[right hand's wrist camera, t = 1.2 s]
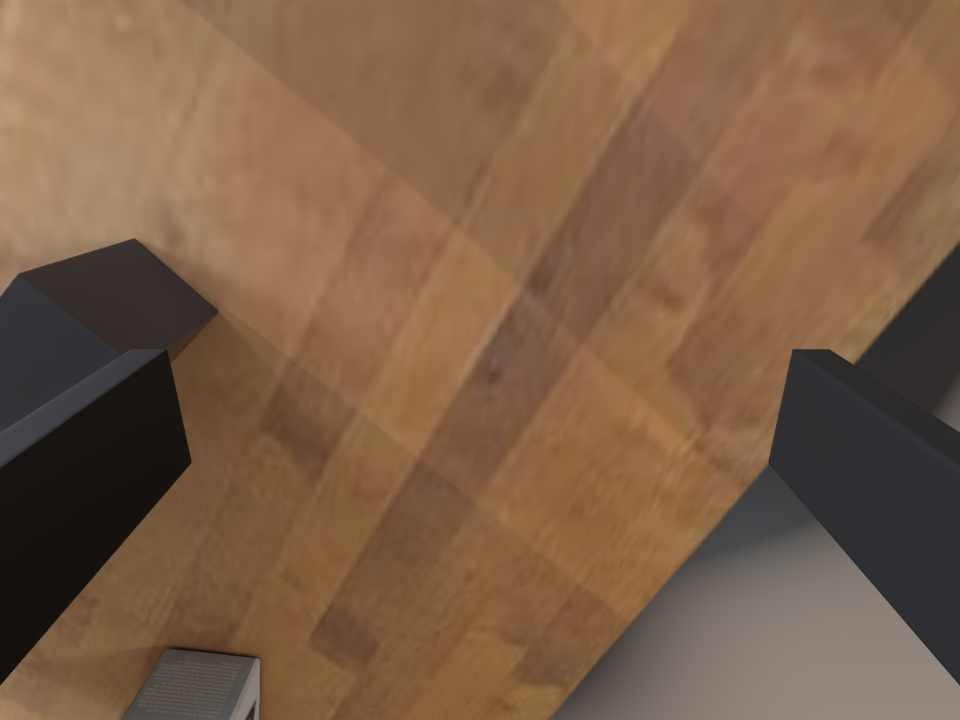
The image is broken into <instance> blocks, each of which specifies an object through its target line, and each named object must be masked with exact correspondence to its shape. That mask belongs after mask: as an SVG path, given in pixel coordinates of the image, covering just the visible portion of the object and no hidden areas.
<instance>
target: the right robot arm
mask: <svg viewBox="0 0 960 720" xmlns="http://www.w3.org/2000/svg"><path fill="white" fill-rule="evenodd" d="M191 463H192V462H191V457H190V453H189V448H188V443H187V439H186V434H185V429H184V425H183V420H182V415H181V411H180V406H179V402H178V397H177V392H176V388H175V383H174V378H173V374H172V369H171V364H170V360H169V355H168V350H167V349H131V350H129V351H127V352H126V353H124V354H123V355H121V356H120V357H118V358H117V359H115V360H113V361H112V362H110V363H109V364H107V365H106V366H104V367H102V368H101V369H99V370H98V371H96V372H95V373H93V374H91V375H90V376H88V377H87V378H85V379H84V380H82V381H80V382H79V383H77V384H76V385H74V386H73V387H71V388H69V389H68V390H66V391H65V392H63V393H62V394H60V395H58V396H57V397H55V398H54V399H52V400H51V401H49V402H47V403H46V404H44V405H43V406H41V407H40V408H38V409H36V410H35V411H33V412H32V413H30V414H29V415H27V416H25V417H24V418H22V419H21V420H19V421H18V422H16V423H14V424H13V425H11V426H10V427H8V428H7V429H5V430H3V431H2V432H0V685H1V684H2V683H3V682H4V680H5V679H6V678H7V677H8V676H9V675H10V673H11V672H12V671H13V670H14V669H15V668H16V667H17V665H18V664H19V663H20V662H21V661H22V660H23V658H24V657H25V656H26V655H27V654H28V653H29V651H30V650H31V649H32V648H33V647H34V646H35V644H36V643H37V642H38V641H39V640H40V639H41V637H42V636H43V635H44V634H45V633H46V632H47V630H48V629H49V628H50V627H51V626H52V625H53V623H54V622H55V621H56V620H57V619H58V618H59V616H60V615H61V614H62V613H63V612H64V611H65V609H66V608H67V607H68V606H69V605H70V604H71V602H72V601H73V600H74V599H75V598H76V597H77V596H78V594H79V593H80V592H81V591H82V590H83V589H84V587H85V586H86V585H87V584H88V583H89V582H90V580H91V579H92V578H93V577H94V576H95V575H96V573H97V572H98V571H99V570H100V569H101V568H102V566H103V565H104V564H105V563H106V562H107V561H108V559H109V558H110V557H111V556H112V555H113V554H114V552H115V551H116V550H117V549H118V548H119V547H120V545H121V544H122V543H123V542H124V541H125V540H126V538H127V537H128V536H129V535H130V534H131V533H132V531H133V530H134V529H135V528H136V527H137V526H138V525H139V523H140V522H141V521H142V520H143V519H144V518H145V516H146V515H147V514H148V513H149V512H150V511H151V509H152V508H153V507H154V506H155V505H156V504H157V502H158V501H159V500H160V499H161V498H162V497H163V495H164V494H165V493H166V492H167V491H168V490H169V488H170V487H171V486H172V485H173V484H174V483H175V481H176V480H177V479H178V478H179V477H180V476H181V474H182V473H183V472H184V471H185V470H186V469H187V467H188V466H189V465H190V464H191ZM768 463H769V464H770V465H771V466H772V467H773V469H774V470H775V471H776V472H777V473H778V474H779V476H780V477H781V478H782V479H783V480H784V481H785V483H786V484H787V485H788V486H789V487H790V488H791V490H792V491H793V492H794V493H795V494H796V495H797V497H798V498H799V499H800V500H801V501H802V502H803V504H804V505H805V506H806V507H807V508H808V509H809V511H810V512H811V513H812V514H813V515H814V516H815V518H816V519H817V520H818V521H819V522H820V523H821V524H822V526H823V527H824V528H825V529H826V530H827V531H828V533H829V534H830V535H831V536H832V537H833V538H834V540H835V541H836V542H837V543H838V544H839V545H840V547H841V548H842V549H843V550H844V551H845V552H846V553H847V555H848V556H849V557H850V558H851V559H852V561H853V562H854V563H855V564H856V565H857V566H858V568H859V569H860V570H861V571H862V572H863V573H864V575H865V576H866V577H867V578H868V579H869V580H870V582H871V583H872V584H873V585H874V586H875V587H876V588H877V590H878V591H879V592H880V593H881V594H882V596H883V597H884V598H885V599H886V600H887V601H888V602H889V604H890V605H891V606H892V607H893V608H894V609H895V611H896V612H897V613H898V614H899V615H900V616H901V618H902V619H903V620H904V621H905V622H906V623H907V625H908V626H909V627H910V628H911V629H912V630H913V632H914V633H915V634H916V635H917V636H918V637H919V639H920V640H921V641H922V642H923V643H924V644H925V646H926V647H927V648H928V649H929V650H930V651H931V653H932V654H933V655H934V656H935V657H936V658H937V660H938V661H939V662H940V663H941V664H942V665H943V667H944V668H945V669H946V670H947V671H948V672H949V673H950V675H951V676H952V677H953V678H954V679H955V680H956V682H957V683H958V684H959V685H960V432H958V431H957V430H955V429H953V428H952V427H950V426H949V425H947V424H946V423H944V422H942V421H941V420H939V419H938V418H936V417H935V416H933V415H931V414H930V413H928V412H927V411H925V410H924V409H922V408H920V407H919V406H917V405H916V404H914V403H913V402H911V401H909V400H908V399H906V398H905V397H903V396H902V395H900V394H898V393H897V392H895V391H894V390H892V389H891V388H889V387H887V386H886V385H884V384H883V383H881V382H880V381H878V380H876V379H875V378H873V377H872V376H870V375H869V374H867V373H865V372H864V371H862V370H861V369H859V368H858V367H856V366H854V365H853V364H851V363H850V362H848V361H847V360H845V359H843V358H842V357H840V356H839V355H837V354H836V353H834V352H833V351H831V350H829V349H793V350H792V355H791V360H790V364H789V369H788V374H787V378H786V383H785V388H784V392H783V397H782V402H781V406H780V411H779V415H778V420H777V425H776V429H775V434H774V439H773V443H772V448H771V453H770V457H769V462H768Z"/></svg>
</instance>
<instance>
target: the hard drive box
mask: <svg viewBox="0 0 960 720" xmlns="http://www.w3.org/2000/svg"><path fill="white" fill-rule="evenodd" d="M259 703H260V659H259V658H251V657H241V656H232V655H224V654H215V653H206V652H196V651H187V650H177V649H165V650H164V651H163V653H162V655H161V656H160V658H159V659H158V661H157V663H156V664H155V666H154V667H153V669H152V671H151V672H150V674H149V675H148V677H147V679H146V680H145V682H144V683H143V685H142V687H141V688H140V690H139V692H138V693H137V695H136V696H135V698H134V700H133V701H132V703H131V705H130V706H129V708H128V709H127V711H126V713H125V714H124V716H123V718H122V719H121V720H259Z"/></svg>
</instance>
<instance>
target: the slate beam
mask: <svg viewBox="0 0 960 720" xmlns="http://www.w3.org/2000/svg"><path fill="white" fill-rule="evenodd" d="M217 313H218V310H217V309H215V308H214V307H213V306H212V305H211V304H210V303H209V302H207V301H206V300H205V299H204V298H203V297H202V296H200V295H199V294H198V293H197V292H196V291H195V290H194V289H192V288H191V287H190V286H189V285H188V284H187V283H185V282H184V281H183V280H182V279H181V278H180V277H179V276H177V275H176V274H175V273H174V272H173V271H172V270H171V269H169V268H168V267H167V266H166V265H165V264H164V263H162V262H161V261H160V260H159V259H158V258H157V257H156V256H154V255H153V254H152V253H151V252H150V251H149V250H147V249H146V248H145V247H144V246H143V245H142V244H141V243H139V242H138V241H137V240H136V239H131V240H127V241H124V242H121V243H118V244H114V245H111V246H108V247H104V248H101V249H98V250H94V251H91V252H88V253H85V254H81V255H78V256H75V257H71V258H68V259H65V260H62V261H58V262H55V263H52V264H48V265H45V266H42V267H38V268H35V269H32V270H29V271H25V272H22V273H19V274H17V275H16V276H15V278H14V279H13V280H12V282H11V283H10V284H9V285H8V287H7V288H6V289H5V291H4V292H3V293H2V294H1V296H0V432H2V431H3V430H5V429H7V428H8V427H10V426H11V425H13V424H14V423H16V422H18V421H19V420H21V419H22V418H24V417H25V416H27V415H29V414H30V413H32V412H33V411H35V410H36V409H38V408H40V407H41V406H43V405H44V404H46V403H47V402H49V401H51V400H52V399H54V398H55V397H57V396H58V395H60V394H62V393H63V392H65V391H66V390H68V389H69V388H71V387H73V386H74V385H76V384H77V383H79V382H80V381H82V380H84V379H85V378H87V377H88V376H90V375H91V374H93V373H95V372H96V371H98V370H99V369H101V368H102V367H104V366H106V365H107V364H109V363H110V362H112V361H113V360H115V359H117V358H118V357H120V356H121V355H123V354H124V353H126V352H127V351H129V350H131V349H167V350H168V355H169V360H170V363H171V362H172V361H173V360H174V359H175V358H176V357H177V356H178V355H179V354H180V353H181V352H182V351H183V350H184V348H185V347H186V346H187V345H188V344H189V343H190V342H191V341H192V340H193V339H194V338H195V337H196V336H197V334H198V333H199V332H200V331H201V330H202V329H203V328H204V327H205V326H206V325H207V324H208V323H209V322H210V320H211V319H212V318H213V317H214V316H215V315H216V314H217Z"/></svg>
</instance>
